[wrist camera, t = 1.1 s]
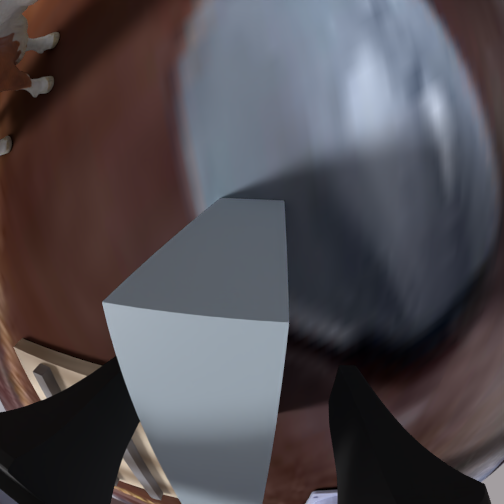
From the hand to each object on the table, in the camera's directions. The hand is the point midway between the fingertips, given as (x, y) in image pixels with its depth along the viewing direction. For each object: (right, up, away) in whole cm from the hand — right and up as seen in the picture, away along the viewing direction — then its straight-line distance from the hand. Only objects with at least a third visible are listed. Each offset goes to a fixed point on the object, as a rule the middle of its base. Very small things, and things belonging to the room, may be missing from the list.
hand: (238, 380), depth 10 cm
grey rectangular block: (0, +1, +3) cm, 3 cm away
